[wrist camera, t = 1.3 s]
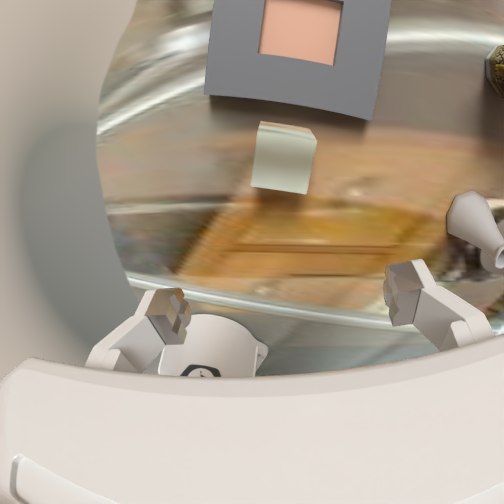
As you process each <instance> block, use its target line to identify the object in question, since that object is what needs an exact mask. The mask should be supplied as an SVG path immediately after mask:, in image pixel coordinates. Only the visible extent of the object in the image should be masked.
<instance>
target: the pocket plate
mask: <svg viewBox="0 0 504 504" xmlns="http://www.w3.org/2000/svg"><path fill="white" fill-rule="evenodd" d="M390 7H391V0H214V7H213V14H212V22H211V30H210V38H209V47H208V56H207V66H206V76H205V87H204V95H219V96H232V97H243V98H252V99H261V100H269V101H276V102H283V103H289V104H295V105H301V106H307V107H312V108H318V109H323V110H328V111H332V112H337V113H341V114H346V115H350V116H354V117H358V118H362V119H366V120H370V121H372V116H373V112H374V107H375V102H376V97H377V92H378V87H379V81H380V76H381V70H382V64H383V58H384V52H385V45H386V39H387V31H388V24H389V16H390Z"/></svg>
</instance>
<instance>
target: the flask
mask: <svg viewBox="0 0 504 504" xmlns="http://www.w3.org/2000/svg"><path fill="white" fill-rule="evenodd" d="M447 231H448V233H449V234H451V235H454V236H456V237H458V238H461V239H463V240H465V241H467V242H469V243H471V244H473V245H475V246H477V247H479V248H480V249H482V250H483V251H484V252H485V253H487V254H488V255H489V256H490V257H491V259H492V260H493V265H494V267H496V268H499V269H502V268H504V239H503V237H502V236H501V234H500V232H499V230H498V228H497V226H496V223H495V221H494V218H493V216H492V213H491V211H490V208H489V205H488V203H487V201H486V198H485V197H483V196H482V195H480V194H478V193H476V192H475V191H473V190H472V191H469V192H466V193H463V194H460V195H457V196H456V197H455V199H454V201H453V203H452V205H451V207H450V209H449V211H448V213H447Z"/></svg>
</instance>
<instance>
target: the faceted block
mask: <svg viewBox="0 0 504 504" xmlns="http://www.w3.org/2000/svg"><path fill="white" fill-rule="evenodd" d="M316 145H317V140H316V139H315V137H314V135H313V134H312V132H311V130H310V129H309V128H305V127H299V126H293V125H287V124H280V123H273V122H266V121H260V125H259V129H258V133H257V140H256V148H255V156H254V164H253V172H252V180H251V186H252V187H260V188H267V189H274V190H281V191H288V192H294V193H301V194H307V189H308V184H309V179H310V175H311V170H312V165H313V160H314V155H315V150H316Z"/></svg>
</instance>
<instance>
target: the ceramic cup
mask: <svg viewBox="0 0 504 504" xmlns="http://www.w3.org/2000/svg"><path fill="white" fill-rule="evenodd" d="M485 64H486V77H487V79H488V80H489V82H490V83H491V85H492V86H493V88H494V90H495V91H496V93H497V94H498V95H499V96H501V97H502V98H504V45H501V46H497V47H494V48H493V49H492V51H491V52H490V53H489V55H488V56H487V57H486V58H485Z"/></svg>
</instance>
